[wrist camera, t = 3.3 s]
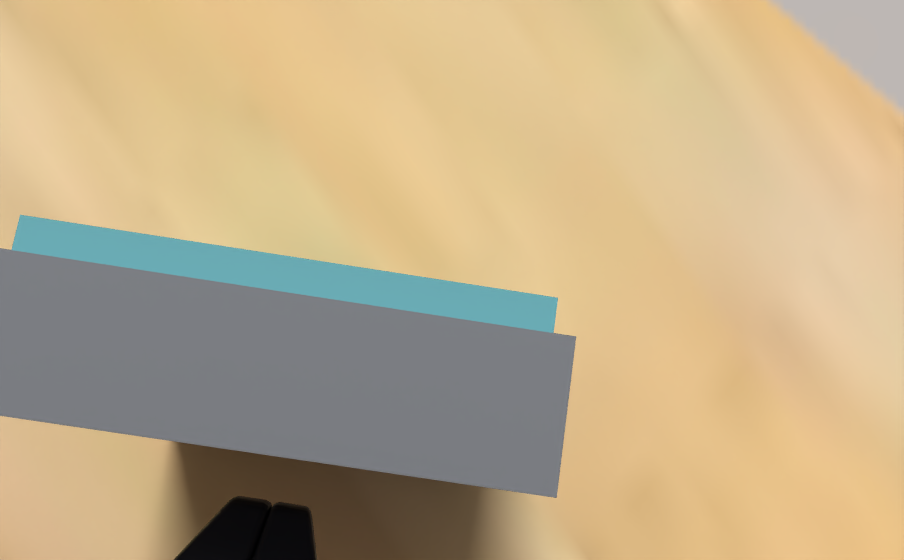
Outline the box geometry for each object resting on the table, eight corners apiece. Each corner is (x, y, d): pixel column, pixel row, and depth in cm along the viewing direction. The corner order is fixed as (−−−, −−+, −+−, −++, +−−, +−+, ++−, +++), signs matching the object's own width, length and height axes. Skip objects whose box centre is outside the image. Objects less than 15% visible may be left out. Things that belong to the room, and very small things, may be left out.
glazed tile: (482, 460, 16) (557, 497, 8) (173, 414, 16) (-60, 406, 8) (497, 357, 16) (580, 297, 8) (194, 311, 16) (-9, 207, 8)
